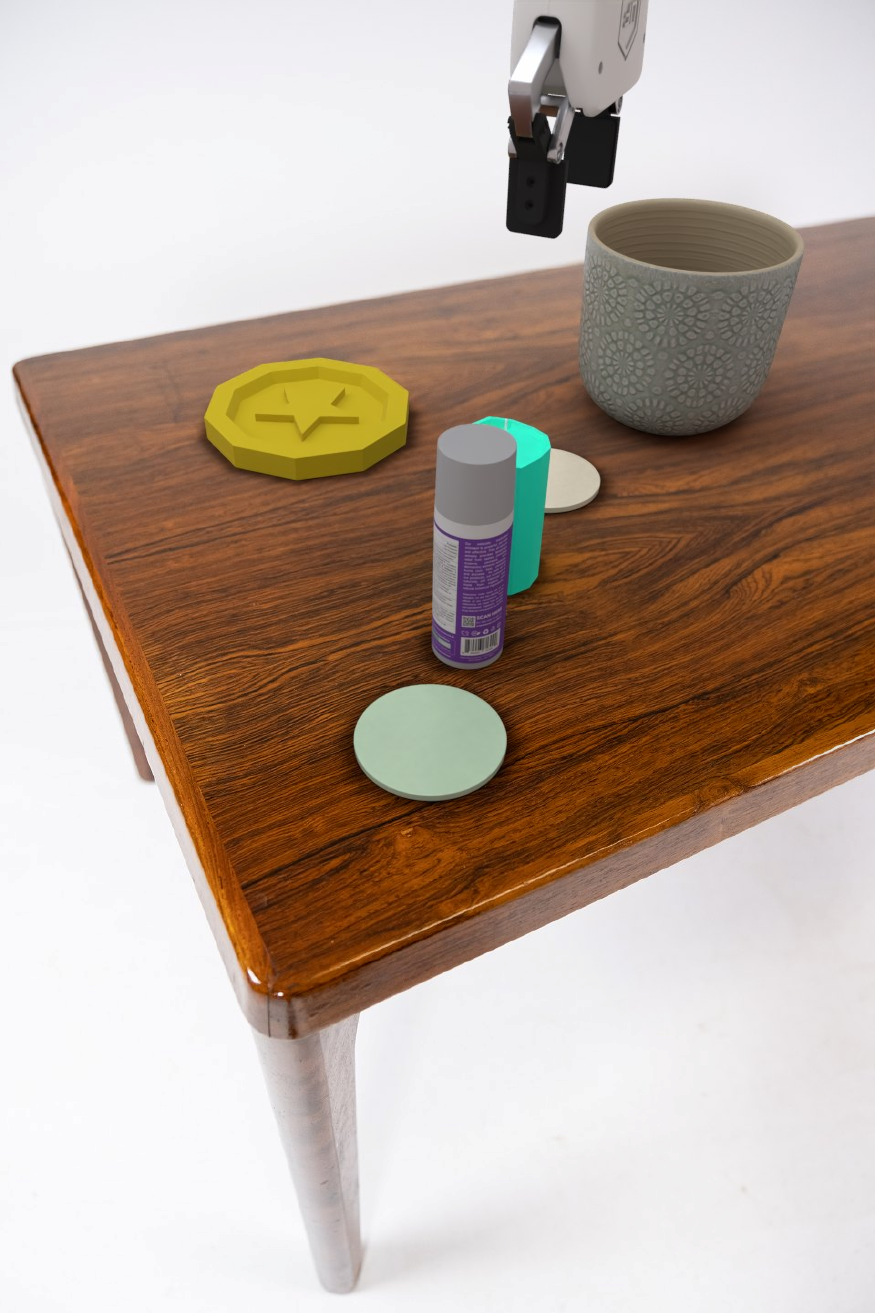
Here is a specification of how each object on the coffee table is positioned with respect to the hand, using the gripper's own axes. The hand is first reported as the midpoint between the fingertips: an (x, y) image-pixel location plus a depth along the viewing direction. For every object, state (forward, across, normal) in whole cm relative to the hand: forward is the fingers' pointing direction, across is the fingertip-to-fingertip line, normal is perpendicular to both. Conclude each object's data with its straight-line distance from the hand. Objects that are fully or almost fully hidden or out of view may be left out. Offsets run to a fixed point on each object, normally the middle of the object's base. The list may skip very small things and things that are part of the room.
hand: (561, 207), depth 60 cm
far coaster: (+23, +7, +2) cm, 24 cm away
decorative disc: (+23, +7, +23) cm, 33 cm away
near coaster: (+24, -23, -2) cm, 33 cm away
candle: (+24, -6, +1) cm, 24 cm away
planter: (+24, +23, -4) cm, 33 cm away
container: (+24, -14, 0) cm, 27 cm away
